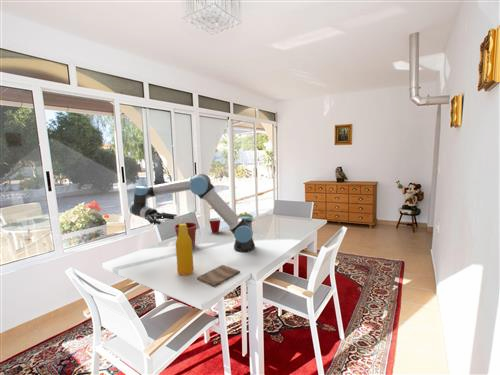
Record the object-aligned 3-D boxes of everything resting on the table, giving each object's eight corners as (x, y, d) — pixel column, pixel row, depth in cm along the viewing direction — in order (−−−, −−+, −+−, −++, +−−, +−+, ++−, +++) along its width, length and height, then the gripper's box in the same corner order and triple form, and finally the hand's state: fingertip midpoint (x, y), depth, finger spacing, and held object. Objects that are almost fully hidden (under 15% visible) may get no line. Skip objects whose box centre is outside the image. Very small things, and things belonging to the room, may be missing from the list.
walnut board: (222, 266, 161) (222, 264, 161) (239, 272, 153) (239, 270, 153) (197, 279, 146) (196, 277, 146) (214, 287, 137) (214, 284, 137)
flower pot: (192, 250, 188) (191, 229, 186) (171, 249, 192) (169, 228, 189) (201, 242, 204) (200, 222, 202) (181, 242, 208) (180, 222, 205)
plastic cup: (222, 230, 236) (221, 217, 234) (221, 234, 225) (220, 220, 223) (209, 230, 235) (209, 217, 234) (208, 234, 225) (207, 220, 223)
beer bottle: (187, 267, 162) (184, 221, 158) (197, 271, 156) (194, 223, 152) (174, 272, 155) (171, 224, 151) (184, 277, 149) (180, 227, 145)
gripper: (163, 216, 179) (187, 224, 170) (131, 222, 158) (156, 232, 148) (164, 205, 178) (188, 213, 168) (132, 210, 157) (157, 219, 147)
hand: (173, 222), depth 158 cm, fingers open, 13 cm apart
